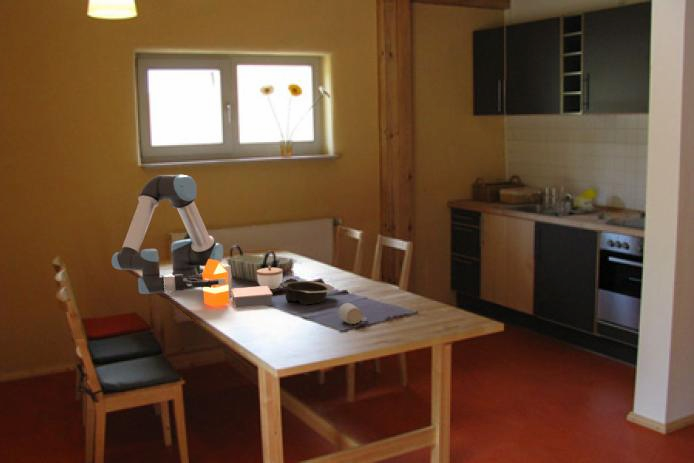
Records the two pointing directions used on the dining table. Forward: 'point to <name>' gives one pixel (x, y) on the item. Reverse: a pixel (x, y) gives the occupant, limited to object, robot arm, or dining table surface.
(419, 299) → the dining table surface
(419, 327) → the dining table surface
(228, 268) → the supplement box
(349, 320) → the ceramic mug
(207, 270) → the orange juice
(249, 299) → the podium
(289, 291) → the stone bowl
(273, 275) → the lidded bowl
